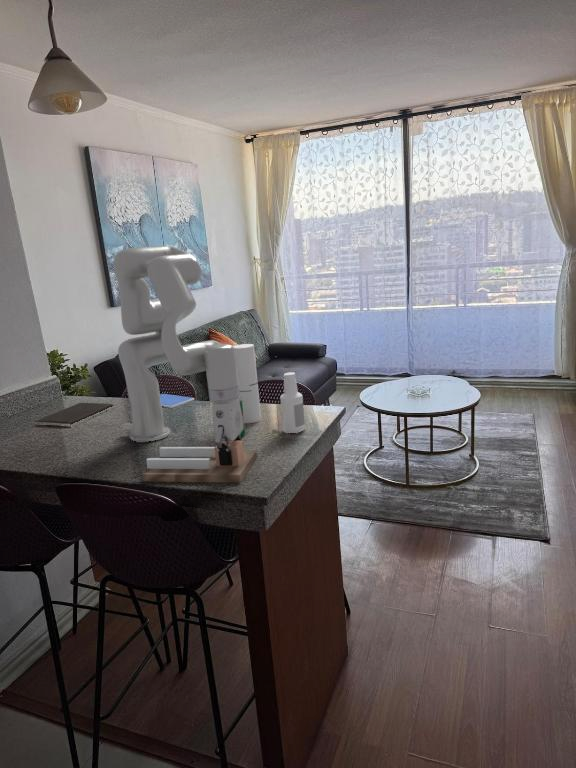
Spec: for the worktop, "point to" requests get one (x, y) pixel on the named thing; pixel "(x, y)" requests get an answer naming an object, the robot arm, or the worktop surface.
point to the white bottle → (292, 406)
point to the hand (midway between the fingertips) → (231, 458)
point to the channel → (182, 462)
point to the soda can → (242, 417)
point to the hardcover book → (74, 413)
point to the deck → (203, 472)
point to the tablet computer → (173, 400)
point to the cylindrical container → (248, 382)
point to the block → (233, 453)
